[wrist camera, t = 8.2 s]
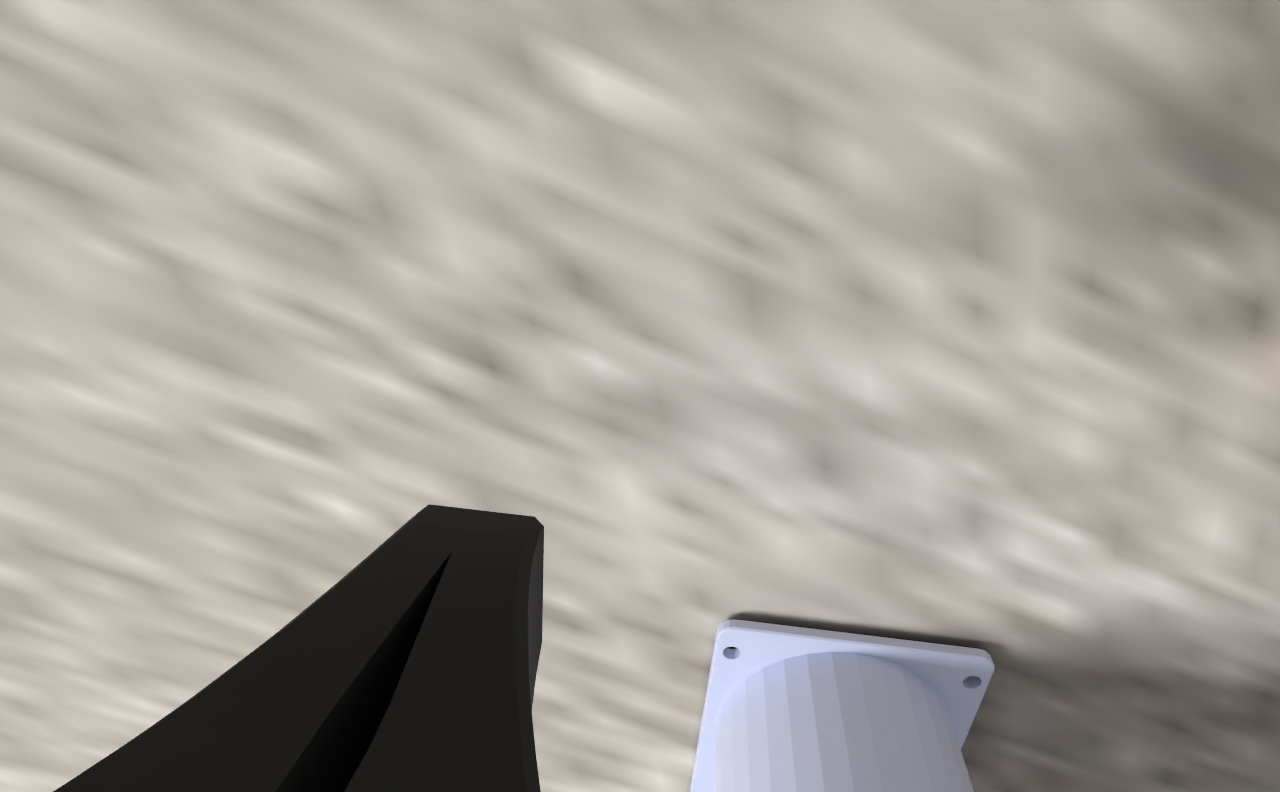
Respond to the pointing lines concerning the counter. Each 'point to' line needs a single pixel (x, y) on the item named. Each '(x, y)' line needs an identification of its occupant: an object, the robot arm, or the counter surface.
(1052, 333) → the counter surface
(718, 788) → the robot arm
